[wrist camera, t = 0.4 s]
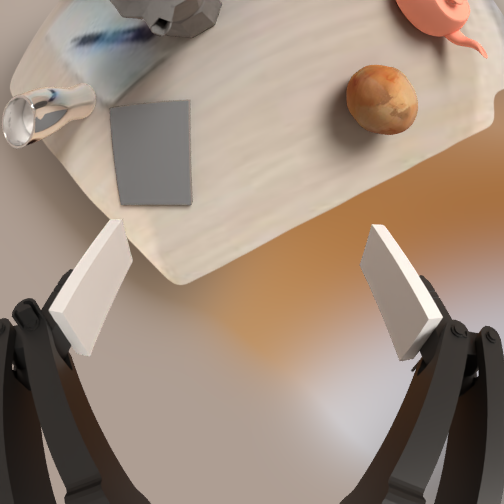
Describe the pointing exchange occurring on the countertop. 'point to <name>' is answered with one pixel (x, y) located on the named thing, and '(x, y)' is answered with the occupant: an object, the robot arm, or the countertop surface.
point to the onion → (382, 100)
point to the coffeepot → (172, 15)
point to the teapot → (440, 19)
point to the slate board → (153, 152)
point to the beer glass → (45, 112)
